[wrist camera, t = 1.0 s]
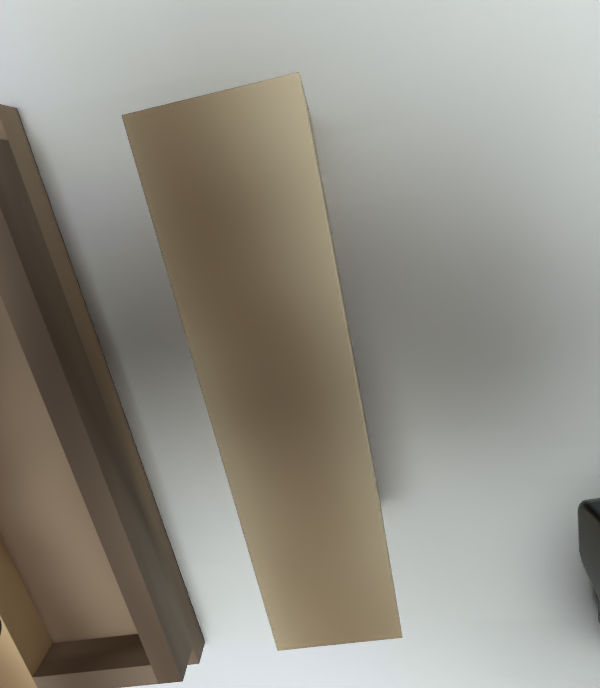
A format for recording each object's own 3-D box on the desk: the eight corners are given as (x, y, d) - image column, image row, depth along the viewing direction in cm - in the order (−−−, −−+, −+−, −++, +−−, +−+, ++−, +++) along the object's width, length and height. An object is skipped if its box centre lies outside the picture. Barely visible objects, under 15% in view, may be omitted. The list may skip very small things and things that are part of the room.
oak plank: (309, 113, 15) (298, 71, 9) (380, 499, 19) (402, 637, 13) (198, 139, 15) (121, 115, 9) (292, 512, 19) (277, 650, 14)
